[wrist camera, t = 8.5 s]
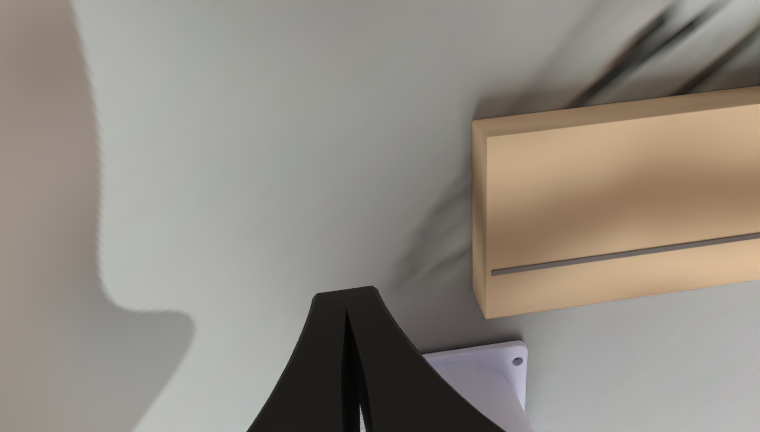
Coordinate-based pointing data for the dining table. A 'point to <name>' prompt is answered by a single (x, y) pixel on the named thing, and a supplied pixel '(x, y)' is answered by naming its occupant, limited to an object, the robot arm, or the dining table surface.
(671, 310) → the dining table surface
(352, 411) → the robot arm
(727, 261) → the board
